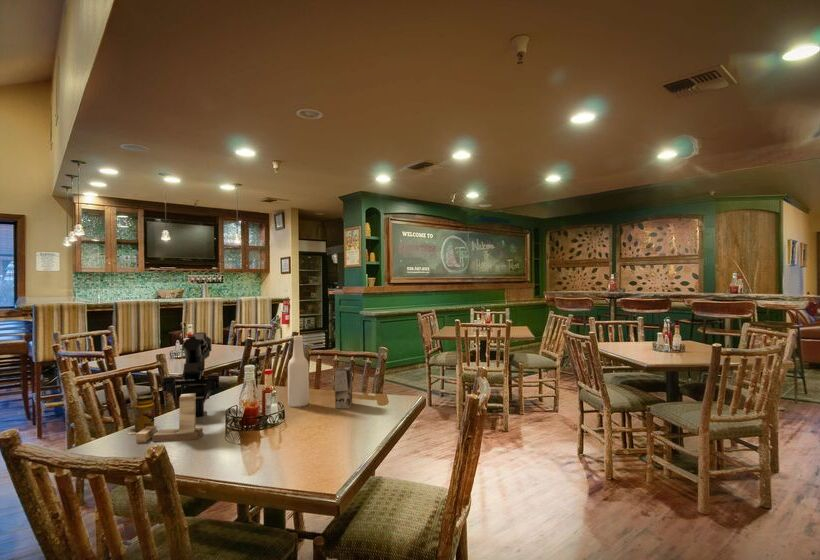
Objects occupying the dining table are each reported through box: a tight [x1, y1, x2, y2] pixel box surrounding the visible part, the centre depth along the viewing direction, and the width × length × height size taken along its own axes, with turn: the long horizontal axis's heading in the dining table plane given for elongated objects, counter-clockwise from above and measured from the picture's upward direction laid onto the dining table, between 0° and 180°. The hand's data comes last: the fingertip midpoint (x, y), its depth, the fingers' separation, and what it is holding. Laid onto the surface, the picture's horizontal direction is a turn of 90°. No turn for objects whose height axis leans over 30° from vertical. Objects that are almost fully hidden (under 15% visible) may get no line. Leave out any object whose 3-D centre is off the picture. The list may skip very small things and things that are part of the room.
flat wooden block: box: [152, 426, 204, 442], centre depth 151 cm, size 6×14×2 cm, turn 98°
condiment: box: [127, 394, 156, 435], centre depth 159 cm, size 7×8×12 cm
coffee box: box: [334, 366, 353, 409], centre depth 191 cm, size 9×6×16 cm
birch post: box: [178, 393, 197, 433], centre depth 152 cm, size 4×4×12 cm
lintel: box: [135, 425, 157, 443], centre depth 151 cm, size 8×3×3 cm, turn 8°
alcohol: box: [287, 335, 310, 408], centre depth 193 cm, size 9×9×30 cm
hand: (189, 403), depth 157 cm, fingers open, 9 cm apart
